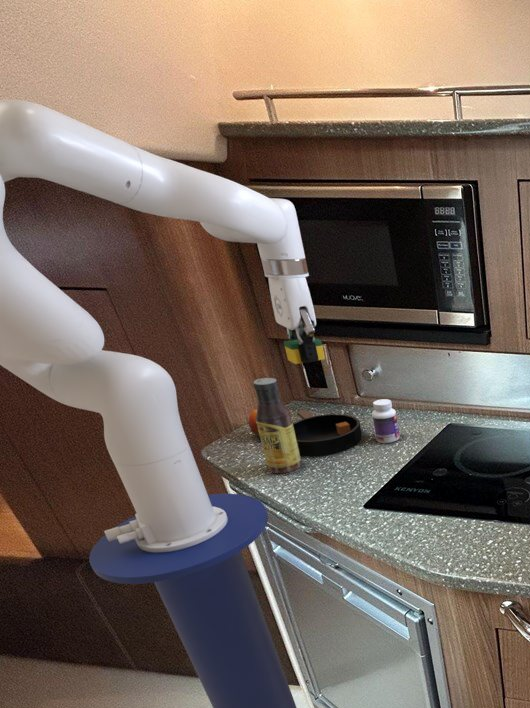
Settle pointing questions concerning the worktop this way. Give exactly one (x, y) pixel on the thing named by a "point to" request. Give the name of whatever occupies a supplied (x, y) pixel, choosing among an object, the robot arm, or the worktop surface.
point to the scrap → (343, 428)
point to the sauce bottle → (275, 428)
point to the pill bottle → (385, 421)
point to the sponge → (294, 351)
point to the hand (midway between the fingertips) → (305, 358)
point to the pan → (325, 434)
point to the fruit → (253, 422)
